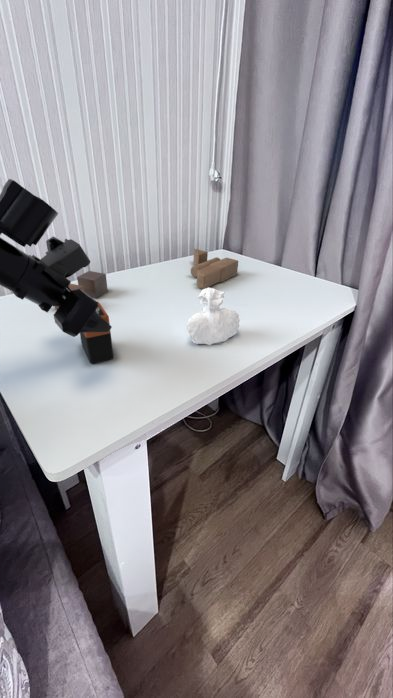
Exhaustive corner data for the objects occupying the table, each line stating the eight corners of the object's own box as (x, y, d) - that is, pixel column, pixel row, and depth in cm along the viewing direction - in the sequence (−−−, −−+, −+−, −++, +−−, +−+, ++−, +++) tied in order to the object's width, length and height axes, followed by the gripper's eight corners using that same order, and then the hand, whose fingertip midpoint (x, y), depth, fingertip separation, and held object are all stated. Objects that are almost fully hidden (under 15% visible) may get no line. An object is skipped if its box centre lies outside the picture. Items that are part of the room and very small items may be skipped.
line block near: (73, 314, 76) (69, 293, 73) (55, 309, 77) (51, 289, 74) (86, 305, 80) (83, 286, 77) (69, 301, 81) (65, 282, 78)
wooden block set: (241, 256, 99) (205, 271, 87) (238, 274, 102) (204, 291, 90) (196, 244, 107) (158, 257, 95) (195, 261, 110) (158, 276, 98)
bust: (233, 339, 73) (221, 290, 74) (251, 334, 66) (238, 280, 67) (184, 351, 69) (171, 298, 69) (198, 346, 62) (183, 288, 62)
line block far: (96, 299, 83) (94, 280, 80) (79, 295, 84) (76, 276, 82) (107, 292, 87) (105, 273, 84) (91, 288, 88) (89, 270, 86)
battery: (90, 365, 59) (82, 315, 54) (81, 347, 64) (73, 299, 59) (114, 359, 61) (108, 310, 56) (104, 342, 66) (98, 295, 61)
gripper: (73, 240, 42) (151, 300, 53) (29, 213, 54) (101, 267, 66) (21, 312, 42) (111, 356, 54) (-10, 269, 54) (69, 313, 66)
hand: (98, 318), depth 60 cm, fingers open, 9 cm apart
